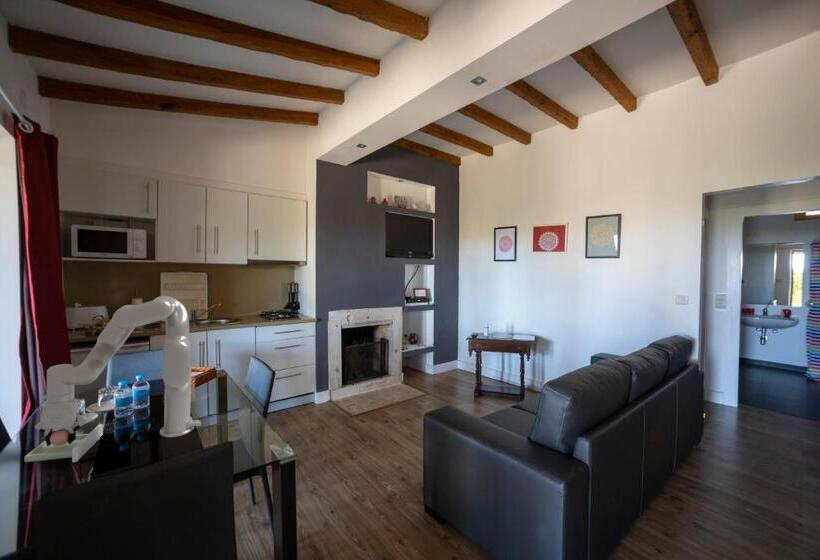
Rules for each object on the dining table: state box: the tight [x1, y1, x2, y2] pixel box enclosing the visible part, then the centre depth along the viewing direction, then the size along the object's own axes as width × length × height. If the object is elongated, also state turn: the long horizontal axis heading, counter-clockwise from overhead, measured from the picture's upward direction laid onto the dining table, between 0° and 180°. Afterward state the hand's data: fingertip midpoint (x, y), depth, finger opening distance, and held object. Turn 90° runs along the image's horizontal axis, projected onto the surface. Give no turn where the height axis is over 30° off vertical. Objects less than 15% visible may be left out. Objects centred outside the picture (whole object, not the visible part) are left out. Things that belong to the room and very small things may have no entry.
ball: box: [50, 428, 70, 446], centre depth 136 cm, size 6×6×6 cm
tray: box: [24, 433, 89, 463], centre depth 137 cm, size 14×14×2 cm
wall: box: [71, 423, 104, 463], centre depth 139 cm, size 1×20×5 cm, turn 20°
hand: (60, 442), depth 137 cm, fingers closed on ball, 5 cm apart
